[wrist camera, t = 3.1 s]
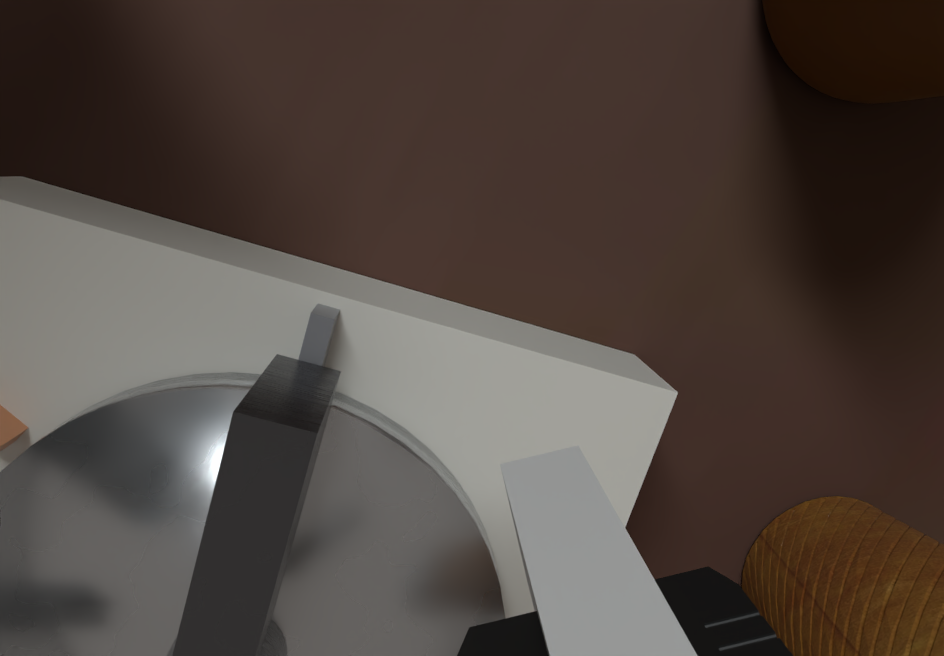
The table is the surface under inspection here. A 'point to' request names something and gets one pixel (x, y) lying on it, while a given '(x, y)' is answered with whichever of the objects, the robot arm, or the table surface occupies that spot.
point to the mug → (862, 46)
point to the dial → (239, 528)
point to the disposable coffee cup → (848, 582)
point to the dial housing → (303, 349)
